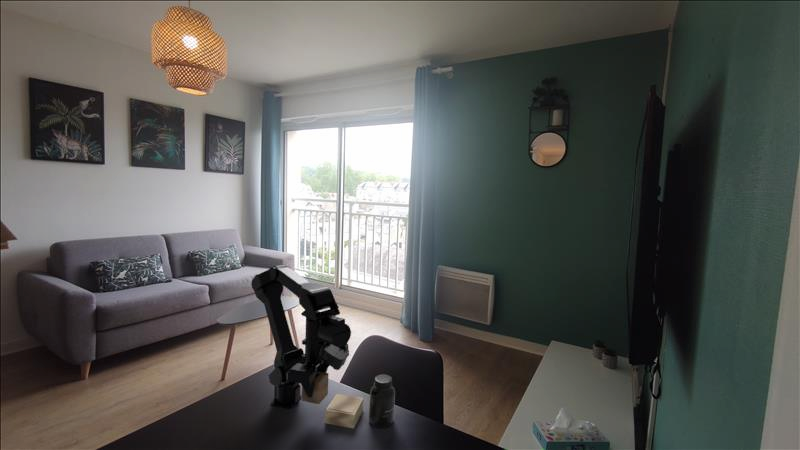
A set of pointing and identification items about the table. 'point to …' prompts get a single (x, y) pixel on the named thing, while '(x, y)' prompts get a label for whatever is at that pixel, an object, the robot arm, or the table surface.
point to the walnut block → (318, 389)
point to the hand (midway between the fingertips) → (315, 391)
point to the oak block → (344, 411)
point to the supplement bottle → (382, 401)
